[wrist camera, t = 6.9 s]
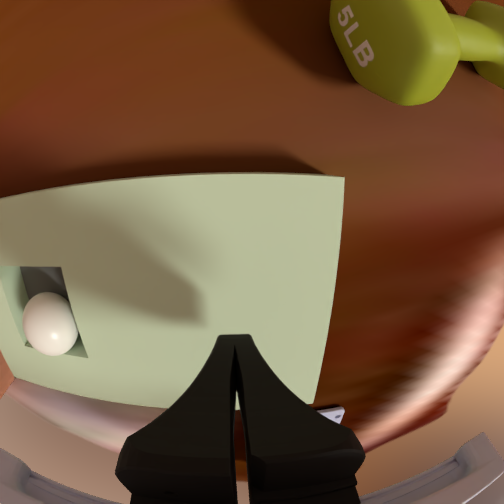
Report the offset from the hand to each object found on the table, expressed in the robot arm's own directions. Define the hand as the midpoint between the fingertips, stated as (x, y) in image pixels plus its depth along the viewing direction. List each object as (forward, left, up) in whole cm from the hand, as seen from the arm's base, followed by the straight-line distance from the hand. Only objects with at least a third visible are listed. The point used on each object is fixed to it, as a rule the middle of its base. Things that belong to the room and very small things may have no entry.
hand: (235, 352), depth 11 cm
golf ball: (-1, +12, -3) cm, 12 cm away
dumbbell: (+17, -13, -5) cm, 22 cm away
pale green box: (0, +7, -5) cm, 9 cm away
